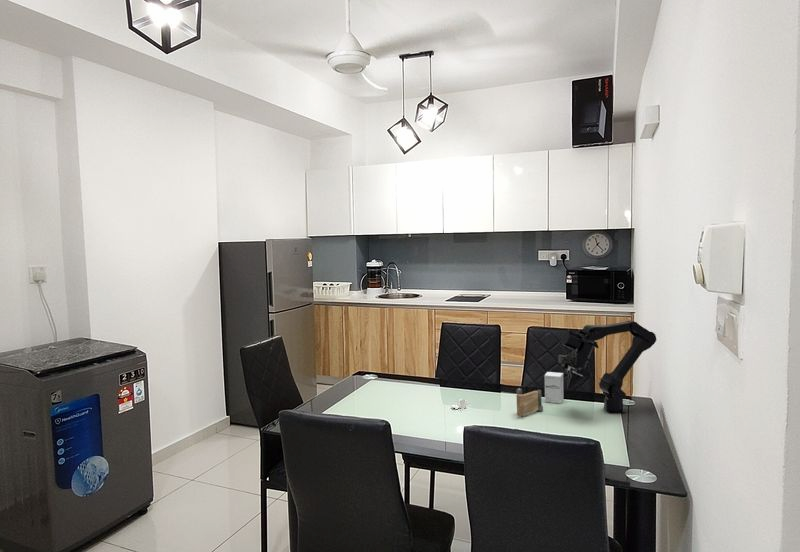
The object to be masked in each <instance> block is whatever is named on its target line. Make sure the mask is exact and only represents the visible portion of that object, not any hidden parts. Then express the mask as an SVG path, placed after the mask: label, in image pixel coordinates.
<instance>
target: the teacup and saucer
mask: <svg viewBox="0 0 800 552" xmlns="http://www.w3.org/2000/svg"><path fill="white" fill-rule="evenodd" d="M458 402H459V405H460V406H459V405H457V404H452V405H450V408H451V409H453V408H459V409H461V408H465V407H466V408H468V407H467V406H469V403H470V402H469V401H468V400H466V399H465V398H461V399H459V400H458ZM466 405H467V406H466ZM460 407H461V408H460ZM466 408H465V409H466Z"/></svg>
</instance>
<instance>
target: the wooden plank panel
mask: <svg viewBox="0 0 800 552" xmlns="http://www.w3.org/2000/svg"><path fill="white" fill-rule="evenodd" d="M542 402H543V400H542V389H537V390H533V391H530V392H527V393H526V392H525V393H524V394H523V393H522V395H521V394H518V395H517V394H516V416H519V417H523V416H525V415H528V414H531V413H534V412H535V411H536V412H538V411H537V410H538V406H543V405H542Z"/></svg>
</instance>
